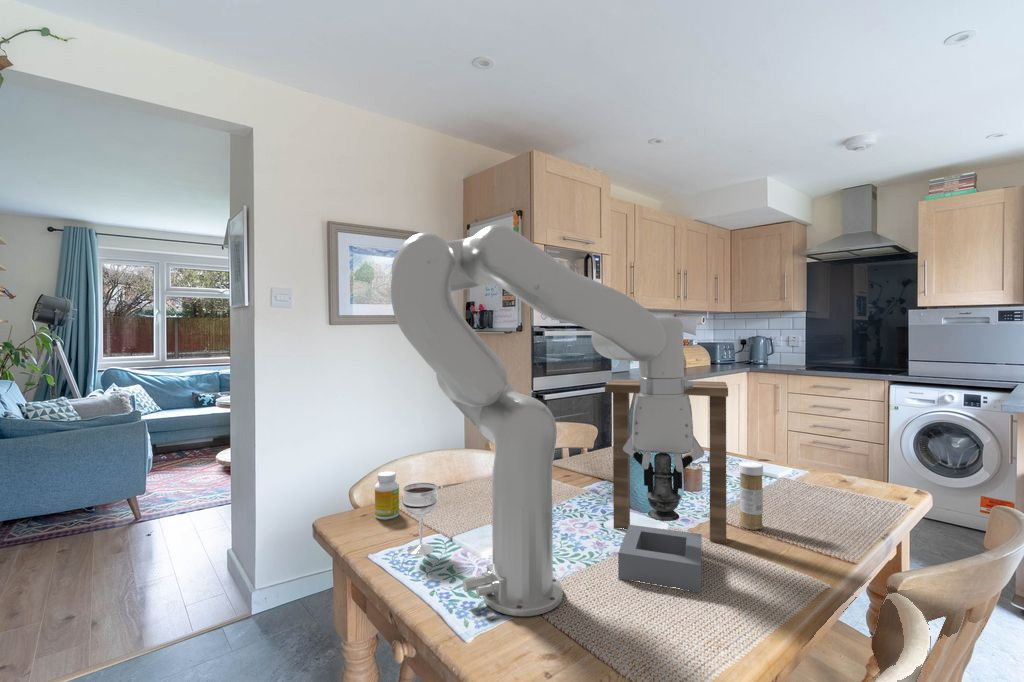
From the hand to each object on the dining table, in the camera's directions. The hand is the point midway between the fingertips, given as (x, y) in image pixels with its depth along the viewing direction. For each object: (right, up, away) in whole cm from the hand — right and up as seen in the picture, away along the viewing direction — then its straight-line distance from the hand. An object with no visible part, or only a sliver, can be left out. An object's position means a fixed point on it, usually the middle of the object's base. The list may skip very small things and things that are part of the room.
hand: (663, 490), depth 86 cm
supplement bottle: (-55, -14, +26) cm, 63 cm away
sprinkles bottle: (+24, -14, +18) cm, 34 cm away
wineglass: (-44, -14, +8) cm, 47 cm away
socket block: (0, -14, 0) cm, 14 cm away
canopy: (+4, -14, +11) cm, 18 cm away
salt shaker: (0, -5, 0) cm, 5 cm away
